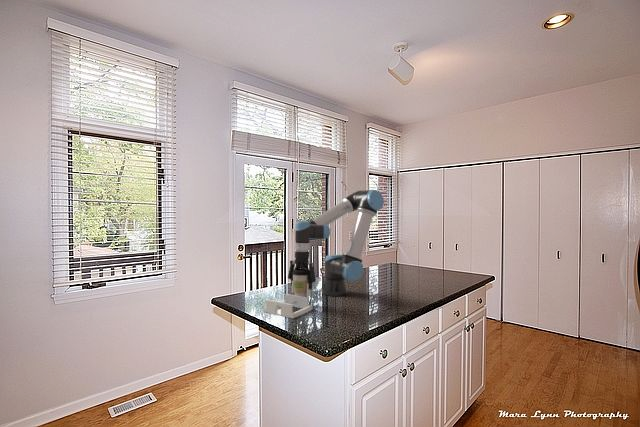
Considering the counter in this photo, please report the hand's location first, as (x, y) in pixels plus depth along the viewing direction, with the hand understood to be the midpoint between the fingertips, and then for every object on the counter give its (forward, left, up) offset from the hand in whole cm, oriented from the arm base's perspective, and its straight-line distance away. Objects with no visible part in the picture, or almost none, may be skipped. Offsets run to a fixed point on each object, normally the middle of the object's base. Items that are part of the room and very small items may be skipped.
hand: (301, 294), depth 177 cm
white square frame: (+10, 0, -6) cm, 12 cm away
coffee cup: (0, 0, -3) cm, 3 cm away
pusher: (+11, 0, -6) cm, 13 cm away
